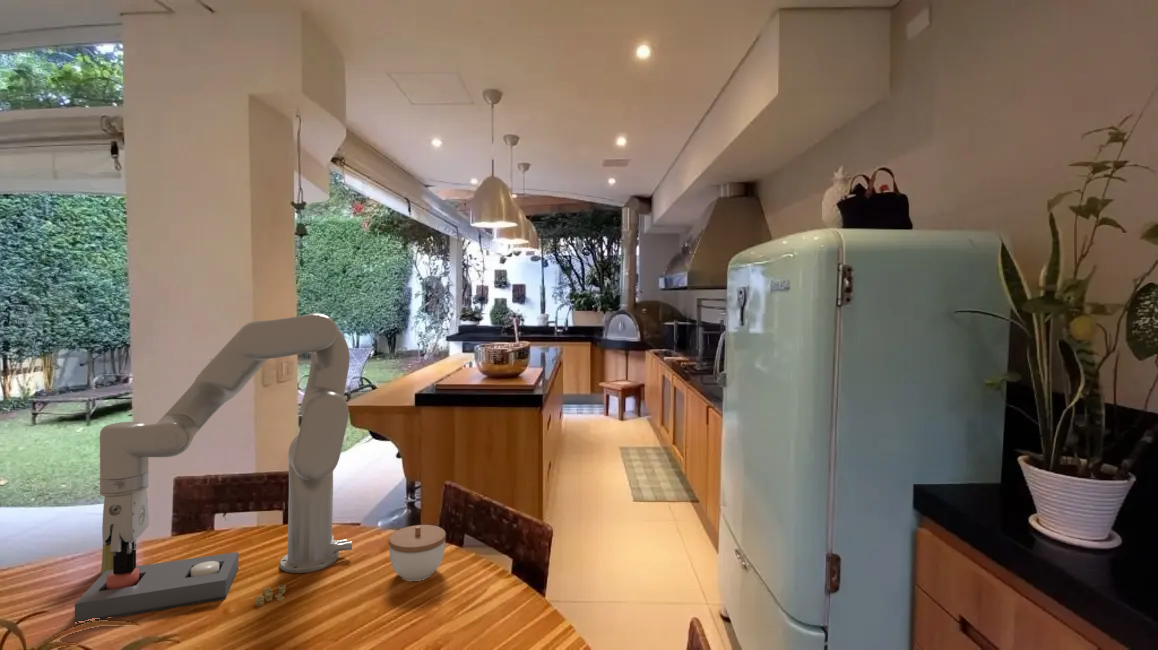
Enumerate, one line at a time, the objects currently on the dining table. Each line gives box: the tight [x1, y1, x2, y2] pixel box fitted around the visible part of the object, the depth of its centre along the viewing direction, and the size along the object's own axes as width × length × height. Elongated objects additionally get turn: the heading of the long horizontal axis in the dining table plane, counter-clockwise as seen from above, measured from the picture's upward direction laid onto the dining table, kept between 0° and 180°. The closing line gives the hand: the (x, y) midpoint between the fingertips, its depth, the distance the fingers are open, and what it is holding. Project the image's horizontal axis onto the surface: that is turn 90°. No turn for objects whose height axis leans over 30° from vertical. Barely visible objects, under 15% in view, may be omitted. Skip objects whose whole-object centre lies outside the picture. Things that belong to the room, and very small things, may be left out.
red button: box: [106, 568, 139, 590], centre depth 106 cm, size 5×5×3 cm
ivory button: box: [191, 561, 219, 577], centre depth 112 cm, size 5×5×3 cm
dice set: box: [255, 584, 287, 607], centre depth 108 cm, size 5×5×2 cm
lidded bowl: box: [388, 524, 447, 582], centre depth 120 cm, size 13×13×11 cm
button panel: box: [74, 551, 240, 623], centre depth 109 cm, size 24×14×4 cm, turn 114°
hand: (124, 571), depth 106 cm, fingers closed
